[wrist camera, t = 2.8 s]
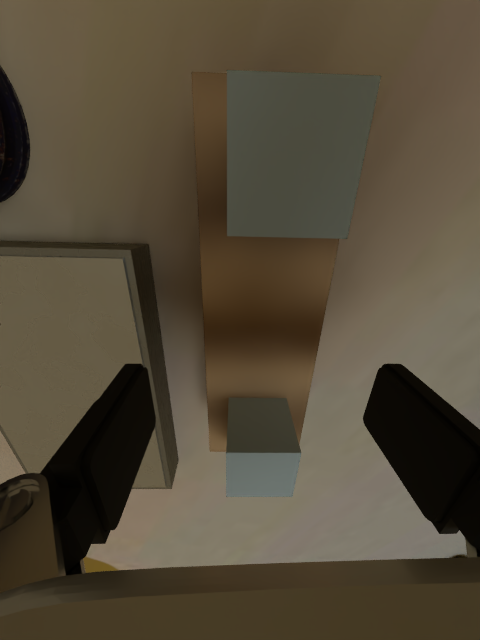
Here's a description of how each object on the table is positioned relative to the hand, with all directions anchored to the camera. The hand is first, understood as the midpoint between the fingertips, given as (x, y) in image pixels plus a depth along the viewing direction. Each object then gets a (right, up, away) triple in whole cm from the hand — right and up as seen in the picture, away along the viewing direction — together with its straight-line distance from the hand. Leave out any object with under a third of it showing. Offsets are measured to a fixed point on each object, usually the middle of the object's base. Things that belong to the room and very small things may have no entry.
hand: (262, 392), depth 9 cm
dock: (-15, -2, +12) cm, 19 cm away
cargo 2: (+1, +9, +1) cm, 9 cm away
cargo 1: (0, -4, +7) cm, 8 cm away
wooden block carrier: (0, +5, +9) cm, 10 cm away
